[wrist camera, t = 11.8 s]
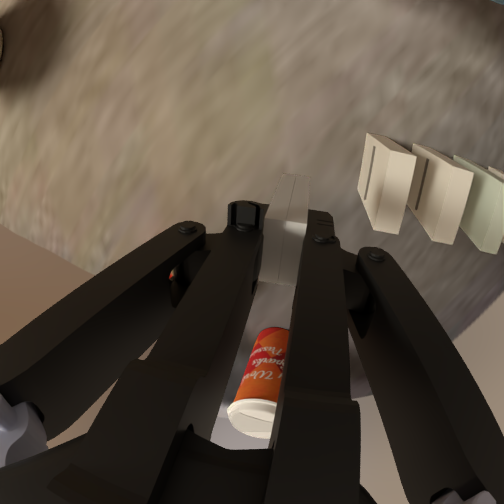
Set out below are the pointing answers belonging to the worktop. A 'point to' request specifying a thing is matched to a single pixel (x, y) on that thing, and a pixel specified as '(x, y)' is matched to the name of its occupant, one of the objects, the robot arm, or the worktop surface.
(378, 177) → the domino
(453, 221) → the domino
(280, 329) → the paper cup
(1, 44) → the canister
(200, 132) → the worktop surface
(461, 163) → the domino
